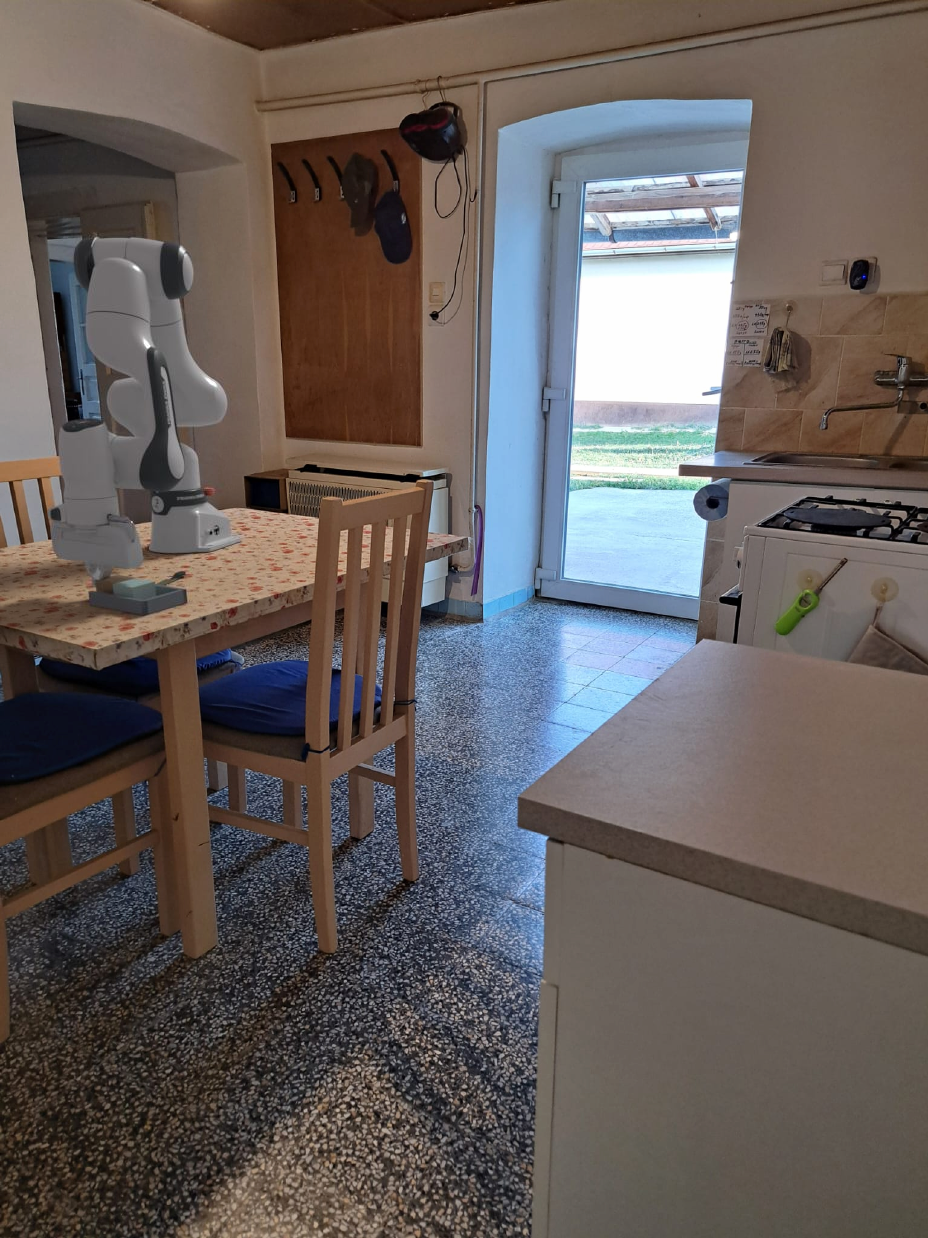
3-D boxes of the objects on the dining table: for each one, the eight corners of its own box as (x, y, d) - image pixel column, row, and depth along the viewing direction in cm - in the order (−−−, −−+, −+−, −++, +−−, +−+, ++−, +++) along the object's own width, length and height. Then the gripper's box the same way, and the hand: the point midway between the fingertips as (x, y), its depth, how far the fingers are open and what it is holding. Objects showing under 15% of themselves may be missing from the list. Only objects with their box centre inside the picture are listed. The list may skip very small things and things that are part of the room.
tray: (133, 593, 159) (132, 580, 158) (187, 602, 153) (186, 589, 152) (89, 605, 151) (88, 591, 150) (144, 615, 145) (143, 601, 144)
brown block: (120, 595, 157) (117, 574, 156) (138, 599, 155) (136, 577, 154) (97, 601, 153) (95, 580, 152) (116, 605, 151) (114, 583, 150)
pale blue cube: (137, 599, 155) (135, 578, 154) (157, 602, 152) (154, 581, 151) (115, 605, 151) (112, 583, 149) (134, 609, 148) (132, 587, 147)
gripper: (147, 514, 149) (155, 590, 153) (71, 505, 159) (79, 577, 162) (118, 519, 144) (126, 598, 148) (40, 510, 153) (50, 584, 157)
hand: (101, 587), depth 155 cm, fingers closed
